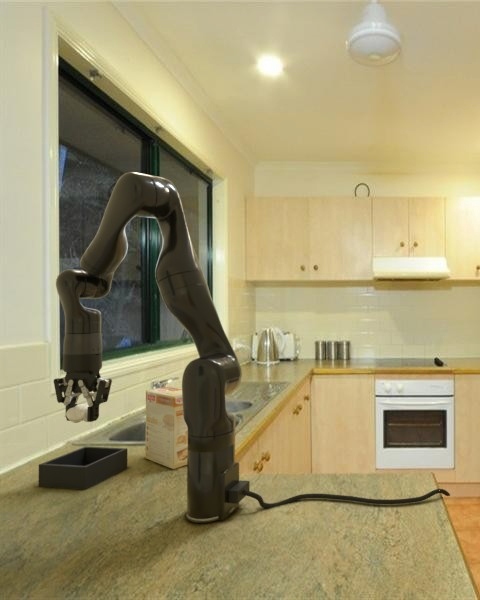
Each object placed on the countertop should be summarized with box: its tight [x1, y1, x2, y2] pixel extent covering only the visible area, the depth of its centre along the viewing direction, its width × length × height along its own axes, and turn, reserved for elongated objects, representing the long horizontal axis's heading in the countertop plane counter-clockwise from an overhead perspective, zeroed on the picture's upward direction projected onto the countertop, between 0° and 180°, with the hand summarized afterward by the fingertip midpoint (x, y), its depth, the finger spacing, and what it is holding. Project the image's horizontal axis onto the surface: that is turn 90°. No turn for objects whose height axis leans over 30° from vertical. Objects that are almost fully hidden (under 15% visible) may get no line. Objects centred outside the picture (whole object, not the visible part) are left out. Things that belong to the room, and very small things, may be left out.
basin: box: [38, 446, 128, 491], centre depth 102 cm, size 13×13×5 cm
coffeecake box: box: [144, 386, 188, 470], centre depth 114 cm, size 15×7×20 cm, turn 58°
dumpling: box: [63, 403, 89, 424], centre depth 99 cm, size 7×5×4 cm
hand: (82, 420), depth 99 cm, fingers closed on dumpling, 5 cm apart
